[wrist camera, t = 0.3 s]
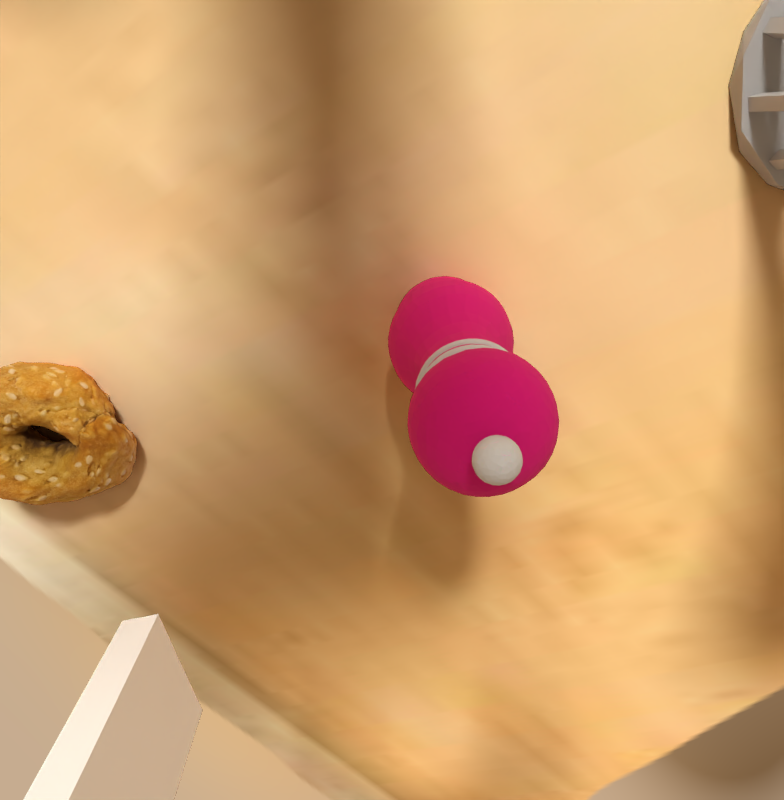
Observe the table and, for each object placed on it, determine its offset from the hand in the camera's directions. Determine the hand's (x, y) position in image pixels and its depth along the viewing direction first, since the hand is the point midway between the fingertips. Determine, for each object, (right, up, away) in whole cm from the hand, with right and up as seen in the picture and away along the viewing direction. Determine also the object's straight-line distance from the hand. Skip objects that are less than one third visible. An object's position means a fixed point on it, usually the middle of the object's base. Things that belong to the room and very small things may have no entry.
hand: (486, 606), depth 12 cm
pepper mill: (+1, +9, +27) cm, 28 cm away
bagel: (-25, +2, +29) cm, 38 cm away
